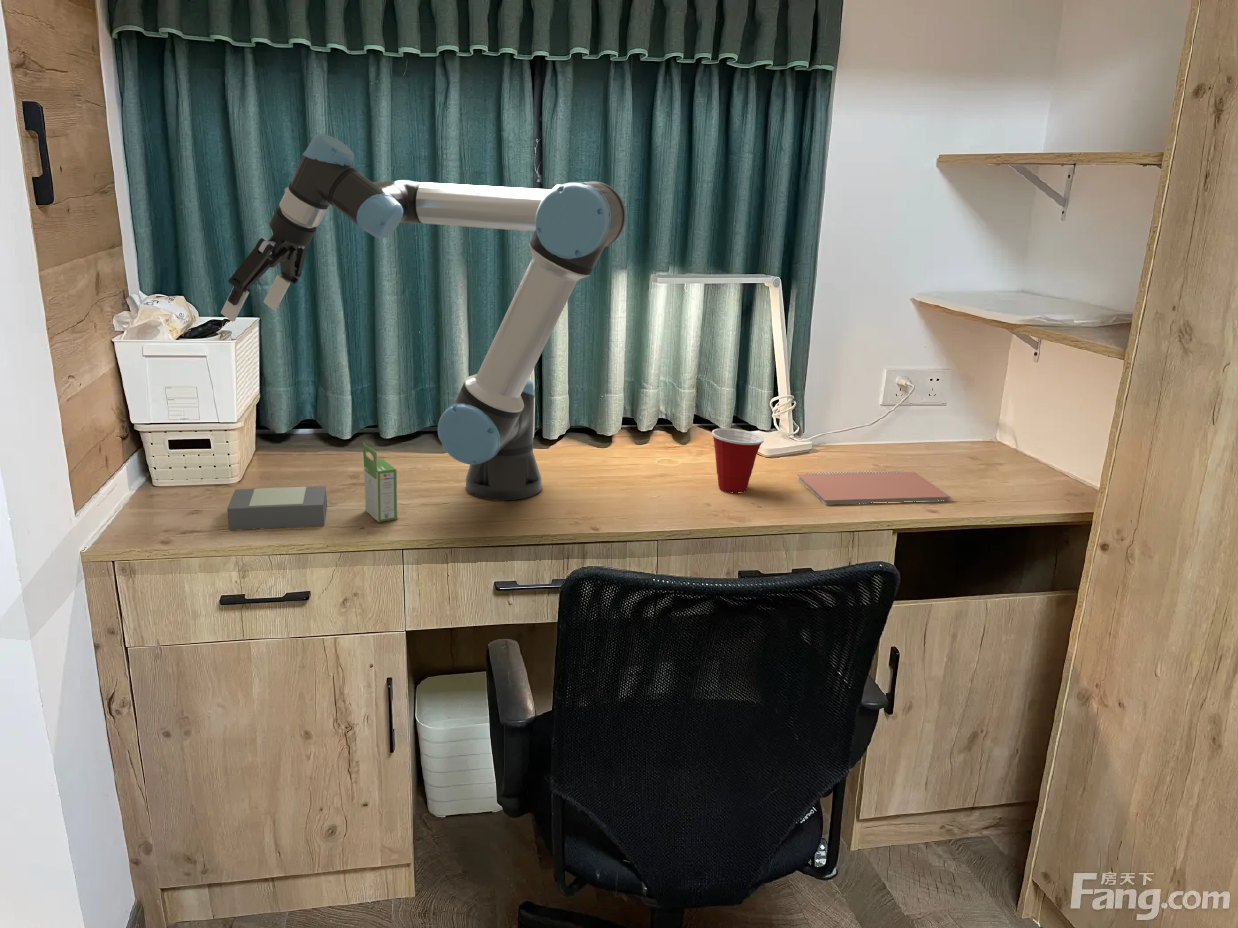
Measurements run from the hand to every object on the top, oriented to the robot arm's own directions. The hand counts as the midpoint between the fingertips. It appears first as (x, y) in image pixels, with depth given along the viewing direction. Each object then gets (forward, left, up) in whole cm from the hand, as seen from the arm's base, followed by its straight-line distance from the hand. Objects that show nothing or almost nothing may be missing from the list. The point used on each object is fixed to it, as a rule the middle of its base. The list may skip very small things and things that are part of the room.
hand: (249, 311), depth 183 cm
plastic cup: (-94, +15, -34) cm, 101 cm away
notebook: (-123, +19, -35) cm, 129 cm away
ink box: (-23, +21, -34) cm, 46 cm away
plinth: (-5, +20, -34) cm, 40 cm away
